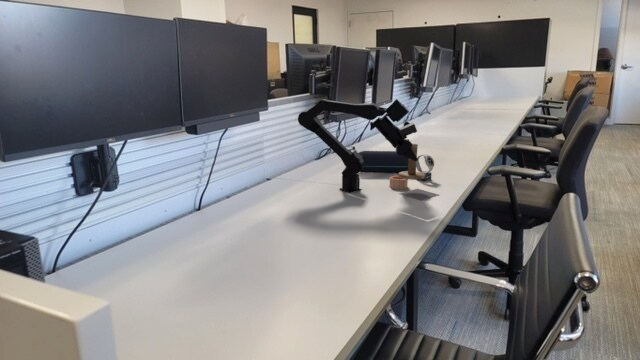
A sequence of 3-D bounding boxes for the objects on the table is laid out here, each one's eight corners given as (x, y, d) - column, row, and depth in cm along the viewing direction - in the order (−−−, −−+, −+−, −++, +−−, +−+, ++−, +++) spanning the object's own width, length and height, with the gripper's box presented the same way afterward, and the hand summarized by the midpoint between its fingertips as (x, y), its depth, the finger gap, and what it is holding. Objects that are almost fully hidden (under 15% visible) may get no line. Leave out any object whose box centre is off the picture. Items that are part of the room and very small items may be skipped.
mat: (421, 201, 165) (421, 200, 165) (398, 194, 173) (398, 193, 173) (440, 195, 171) (440, 194, 171) (417, 189, 180) (417, 188, 180)
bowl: (398, 190, 178) (399, 181, 177) (386, 187, 183) (386, 177, 182) (410, 187, 182) (411, 178, 181) (397, 184, 188) (398, 174, 187)
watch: (428, 182, 189) (430, 157, 186) (412, 179, 194) (413, 154, 192) (435, 180, 193) (436, 155, 190) (418, 177, 198) (420, 152, 195)
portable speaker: (408, 170, 211) (409, 149, 208) (411, 175, 201) (412, 153, 198) (355, 169, 213) (355, 148, 210) (354, 174, 203) (355, 153, 200)
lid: (412, 181, 167) (414, 148, 164) (393, 175, 175) (394, 143, 172) (430, 177, 173) (432, 145, 170) (410, 171, 181) (412, 141, 178)
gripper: (408, 118, 159) (437, 150, 162) (401, 112, 177) (428, 140, 179) (384, 140, 162) (413, 170, 164) (380, 131, 180) (407, 159, 182)
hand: (416, 159), depth 172 cm, fingers closed on lid, 3 cm apart
